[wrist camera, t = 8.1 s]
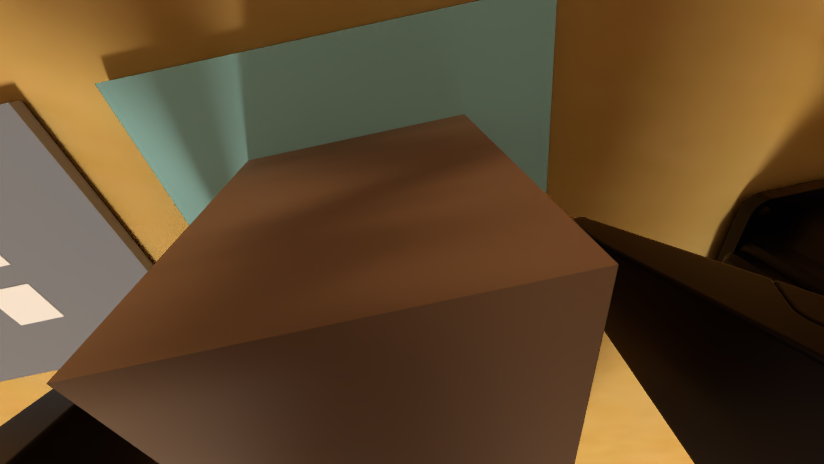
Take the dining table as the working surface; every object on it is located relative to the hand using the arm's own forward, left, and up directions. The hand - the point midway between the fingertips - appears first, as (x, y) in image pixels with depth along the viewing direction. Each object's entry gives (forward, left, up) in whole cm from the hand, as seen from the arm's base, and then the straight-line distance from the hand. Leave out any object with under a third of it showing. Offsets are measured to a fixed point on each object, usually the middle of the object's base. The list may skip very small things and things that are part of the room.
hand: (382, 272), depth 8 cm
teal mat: (0, 0, -2) cm, 2 cm away
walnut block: (0, 0, -2) cm, 2 cm away
